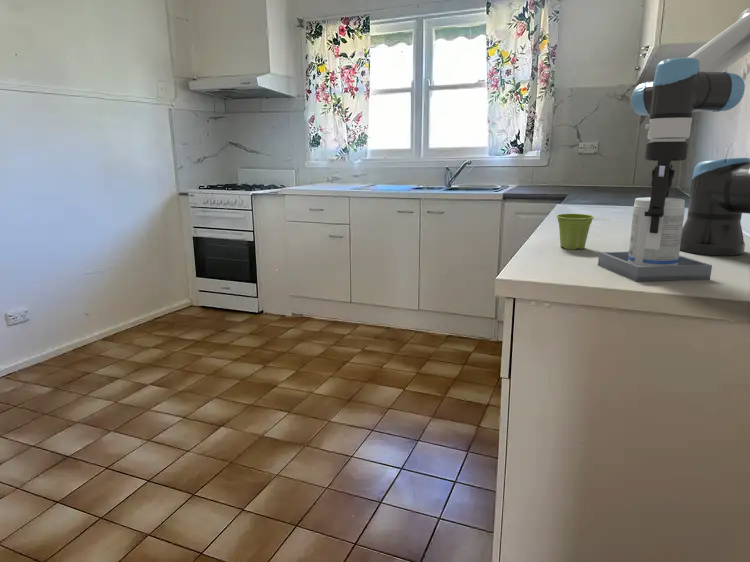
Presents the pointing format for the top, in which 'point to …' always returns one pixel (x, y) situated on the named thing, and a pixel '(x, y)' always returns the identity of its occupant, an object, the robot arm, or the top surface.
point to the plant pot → (574, 230)
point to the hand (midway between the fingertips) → (654, 243)
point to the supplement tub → (669, 235)
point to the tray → (655, 268)
